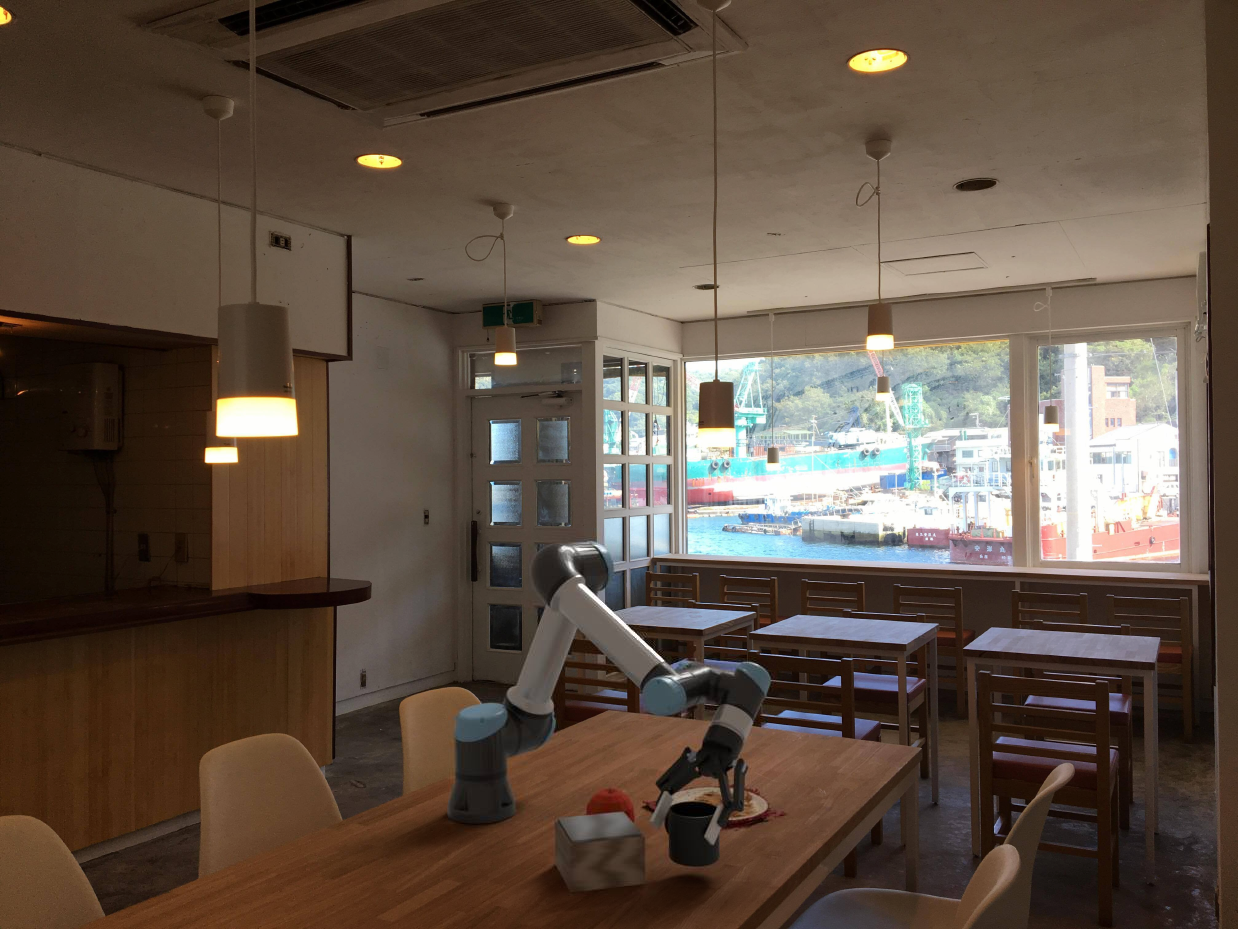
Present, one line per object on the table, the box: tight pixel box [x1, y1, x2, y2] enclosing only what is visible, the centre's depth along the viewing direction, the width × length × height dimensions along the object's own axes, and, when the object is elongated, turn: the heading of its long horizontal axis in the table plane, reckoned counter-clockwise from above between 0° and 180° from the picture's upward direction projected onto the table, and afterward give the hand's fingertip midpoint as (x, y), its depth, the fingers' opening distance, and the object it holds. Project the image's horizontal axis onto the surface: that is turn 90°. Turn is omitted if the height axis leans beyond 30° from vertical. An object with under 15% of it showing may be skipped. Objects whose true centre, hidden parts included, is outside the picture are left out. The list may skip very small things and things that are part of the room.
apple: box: [585, 787, 636, 823], centre depth 202 cm, size 10×10×12 cm
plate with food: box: [642, 783, 789, 832], centre depth 222 cm, size 25×26×4 cm
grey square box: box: [554, 812, 646, 893], centre depth 186 cm, size 14×14×9 cm
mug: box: [663, 801, 720, 868], centre depth 185 cm, size 9×12×9 cm
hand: (680, 833), depth 183 cm, fingers closed on mug, 12 cm apart
